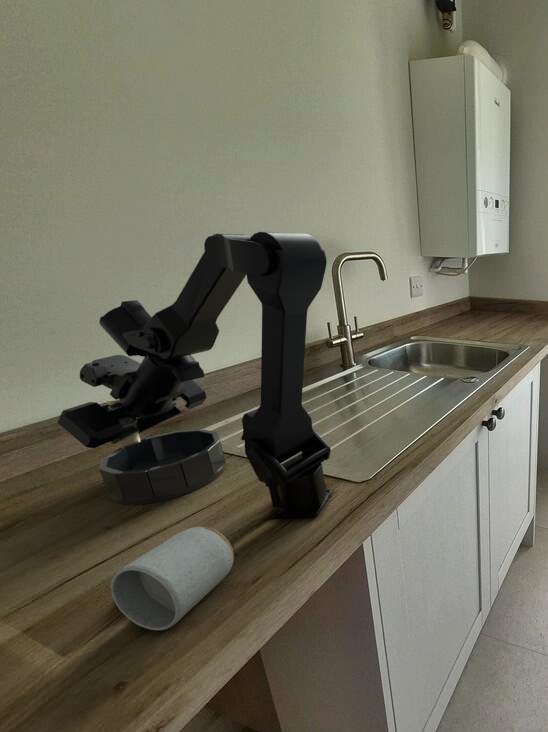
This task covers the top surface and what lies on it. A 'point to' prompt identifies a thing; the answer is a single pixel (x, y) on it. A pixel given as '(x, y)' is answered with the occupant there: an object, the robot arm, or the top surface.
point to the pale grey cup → (172, 577)
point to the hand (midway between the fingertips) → (123, 437)
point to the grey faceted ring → (162, 465)
